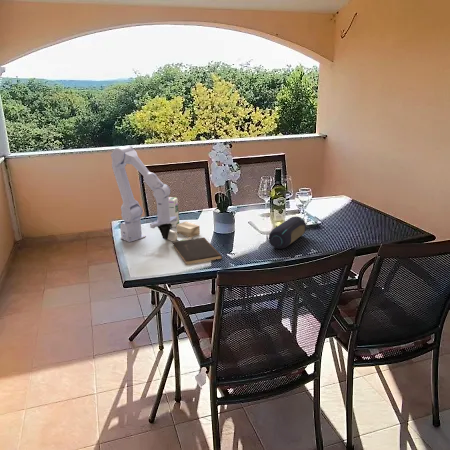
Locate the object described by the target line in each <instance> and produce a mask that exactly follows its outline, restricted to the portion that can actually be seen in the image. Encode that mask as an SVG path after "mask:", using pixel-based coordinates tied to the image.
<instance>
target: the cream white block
mask: <svg viewBox="0 0 450 450" xmlns="http://www.w3.org/2000/svg"><path fill="white" fill-rule="evenodd" d="M167 240H169V241H172V242H177V241H180V240H179V239H178V233H177V231H175V230H172V229H170V231H169V234H168V239H167Z"/></svg>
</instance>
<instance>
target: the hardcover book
mask: <svg viewBox="0 0 450 450" xmlns="http://www.w3.org/2000/svg"><path fill="white" fill-rule="evenodd" d="M171 244H172V246H173V247H174V248H175V250H176V252H177V253H178V255H179V256H180V257H181V258H182V260H183V261H184V263H185V265H192V263H193V264H198V262H199V263H205V262H209V260H211V261H216V259H217V260H222V259H223V256H222V254H221V253H220V252H218V250H217V249H216V248H215V247H214V246H213V245H212V244H211V243H210V242H209V241H208V240H207V239H206V238H205V237H198V238H192V239H190V240H184V241H180V240H179V241H178V242H177V241H176V242H174V241H172V242H171ZM204 261H205V262H204Z"/></svg>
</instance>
